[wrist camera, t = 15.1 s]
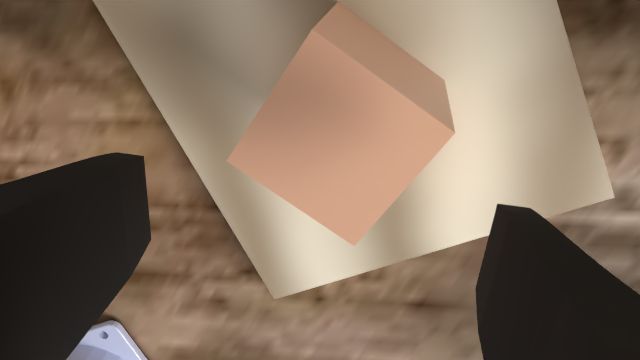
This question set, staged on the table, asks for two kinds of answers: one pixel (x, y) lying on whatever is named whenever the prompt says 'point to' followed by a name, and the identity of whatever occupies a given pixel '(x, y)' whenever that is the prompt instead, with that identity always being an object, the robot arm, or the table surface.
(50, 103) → the table surface
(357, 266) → the post board
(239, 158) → the salmon pink cube
